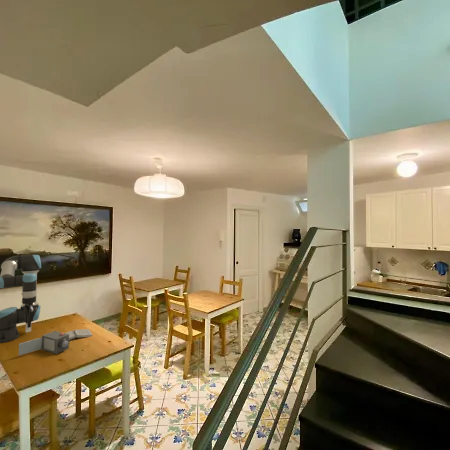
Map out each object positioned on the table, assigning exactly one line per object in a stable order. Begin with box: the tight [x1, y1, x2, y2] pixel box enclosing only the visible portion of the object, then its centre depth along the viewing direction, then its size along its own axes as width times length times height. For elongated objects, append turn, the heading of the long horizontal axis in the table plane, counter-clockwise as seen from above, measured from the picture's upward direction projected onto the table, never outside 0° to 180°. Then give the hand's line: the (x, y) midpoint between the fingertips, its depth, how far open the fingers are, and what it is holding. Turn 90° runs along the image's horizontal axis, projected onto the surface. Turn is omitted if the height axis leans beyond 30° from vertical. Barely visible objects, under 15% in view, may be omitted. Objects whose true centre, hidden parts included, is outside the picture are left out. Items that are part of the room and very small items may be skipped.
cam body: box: [41, 330, 70, 355], centre depth 177 cm, size 19×9×11 cm, turn 66°
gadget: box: [64, 328, 93, 341], centre depth 199 cm, size 23×15×4 cm, turn 128°
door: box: [18, 336, 43, 356], centre depth 171 cm, size 13×2×8 cm, turn 142°
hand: (28, 331), depth 168 cm, fingers closed
